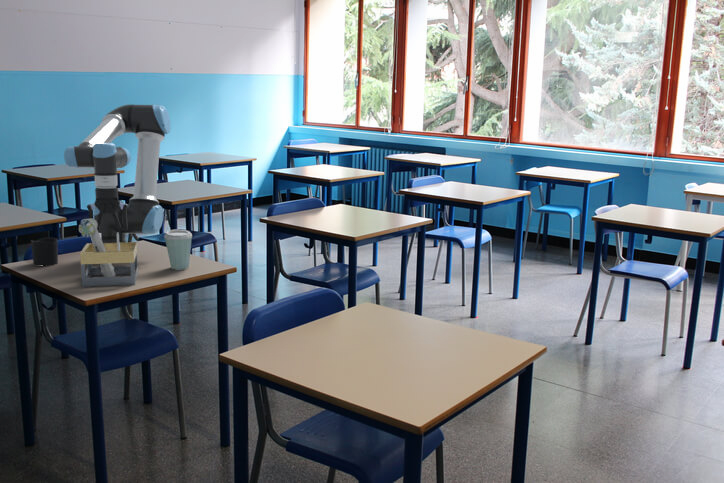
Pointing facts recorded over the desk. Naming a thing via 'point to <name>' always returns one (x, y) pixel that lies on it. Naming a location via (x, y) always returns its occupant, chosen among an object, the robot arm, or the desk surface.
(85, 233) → the toothbrush head
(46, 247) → the pen holder
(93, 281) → the collar stand
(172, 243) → the disposable coffee cup
